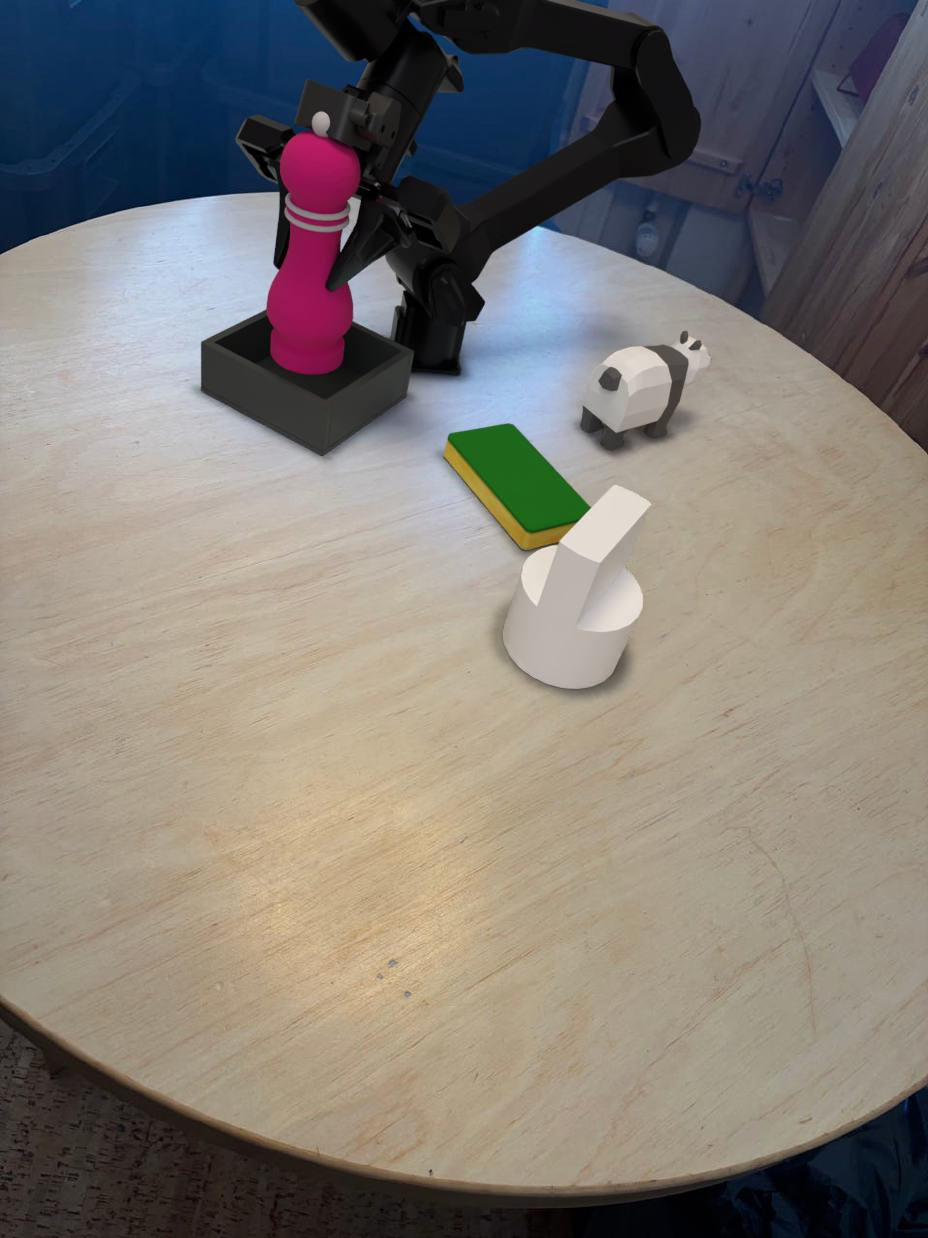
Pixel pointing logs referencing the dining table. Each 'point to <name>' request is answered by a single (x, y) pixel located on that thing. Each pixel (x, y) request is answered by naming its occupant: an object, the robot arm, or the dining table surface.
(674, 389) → the giant panda
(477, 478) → the dish sponge
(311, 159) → the pepper mill
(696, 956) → the dining table surface
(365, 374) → the open rectangular box
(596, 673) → the base with upright slab
